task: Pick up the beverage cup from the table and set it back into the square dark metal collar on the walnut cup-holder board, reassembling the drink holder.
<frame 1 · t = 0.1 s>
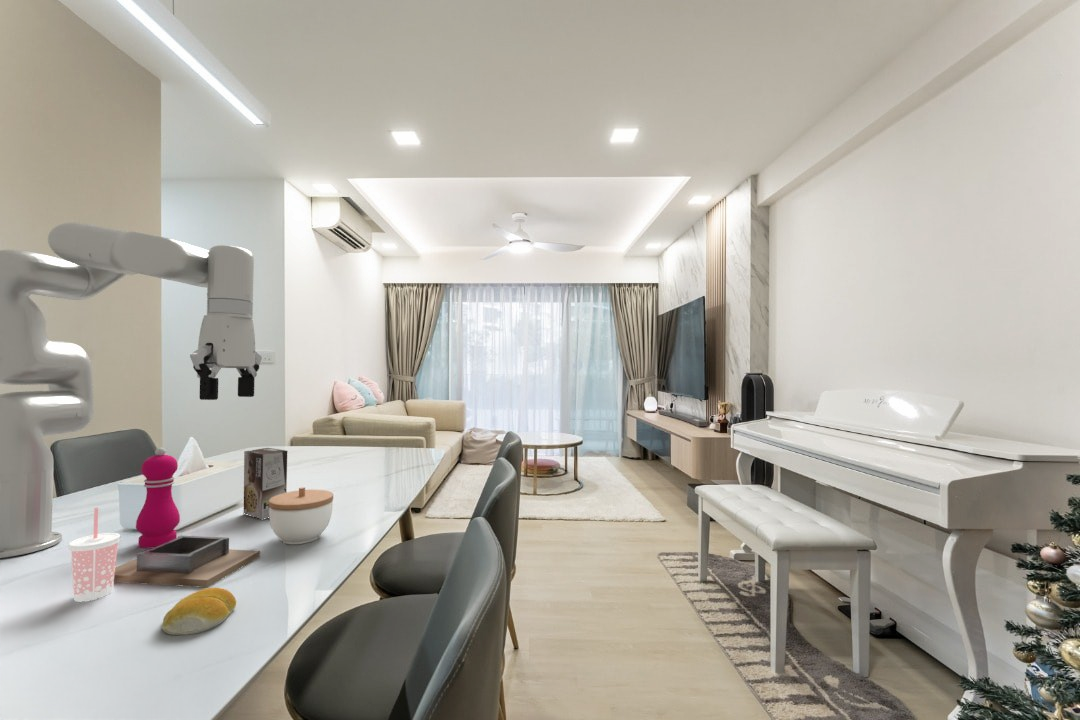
hand: (228, 398, 93), 31 cm above the table, tool pointing down, fingers open, 9 cm apart
bread roll: (200, 622, 70), on the table
lidded bowl: (301, 539, 103), on the table
cup holder: (184, 568, 87), on the table
coffee box: (264, 515, 120), on the table
beverage cup: (93, 596, 77), on the table
pepper mill: (157, 543, 100), on the table
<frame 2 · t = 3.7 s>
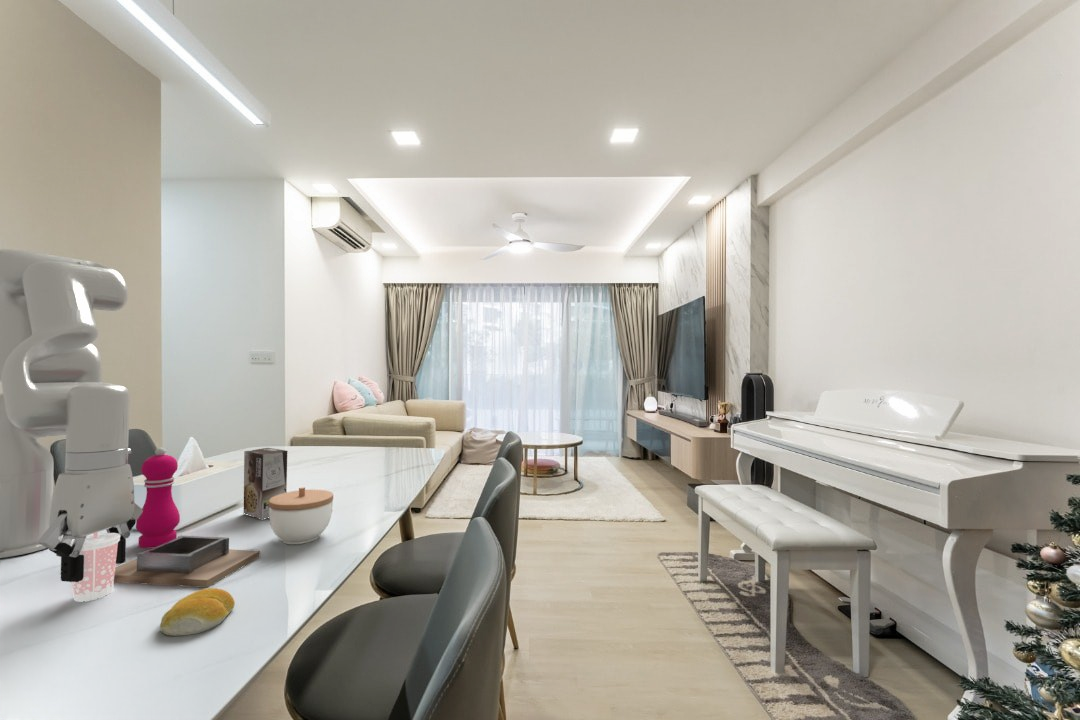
hand: (94, 570, 77), 4 cm above the table, tool pointing down, fingers closed on beverage cup, 6 cm apart
beverage cup: (93, 596, 77), on the table, touching gripper
everything else where it was.
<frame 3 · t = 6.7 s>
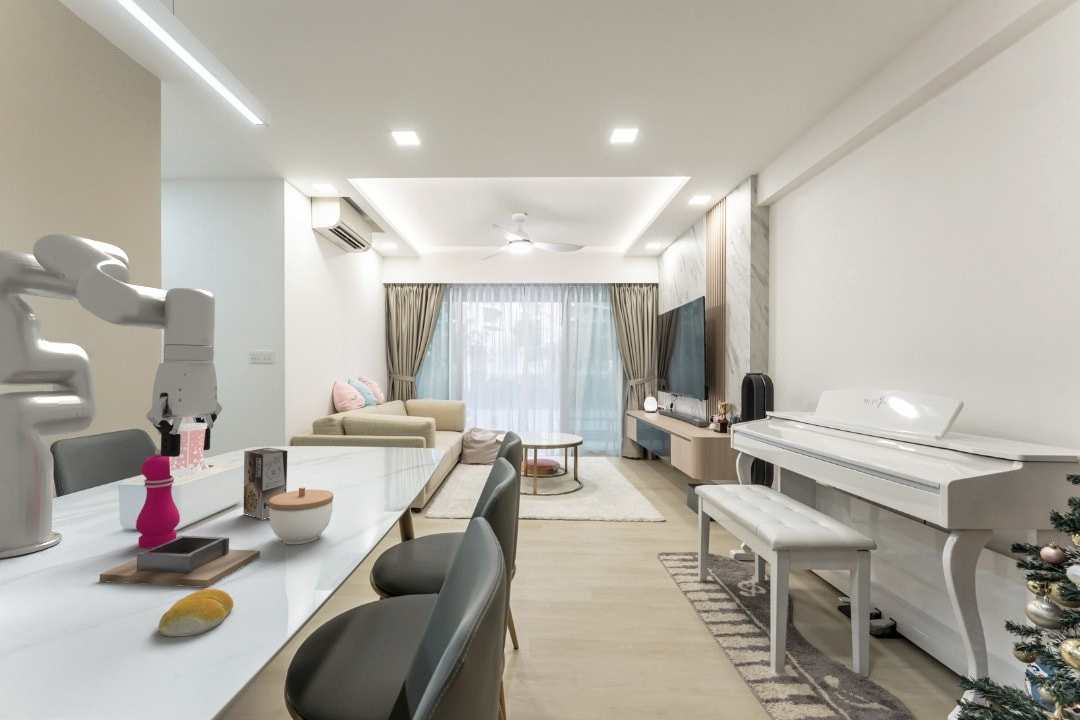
hand: (186, 452, 88), 21 cm above the table, tool pointing down, fingers closed on beverage cup, 6 cm apart
beverage cup: (185, 474, 88), point 17 cm above the table, touching gripper
everything else where it was.
when the fingers open (6 cm above the table, at t = 10.0 s): beverage cup drops 1 cm, resting on cup holder.
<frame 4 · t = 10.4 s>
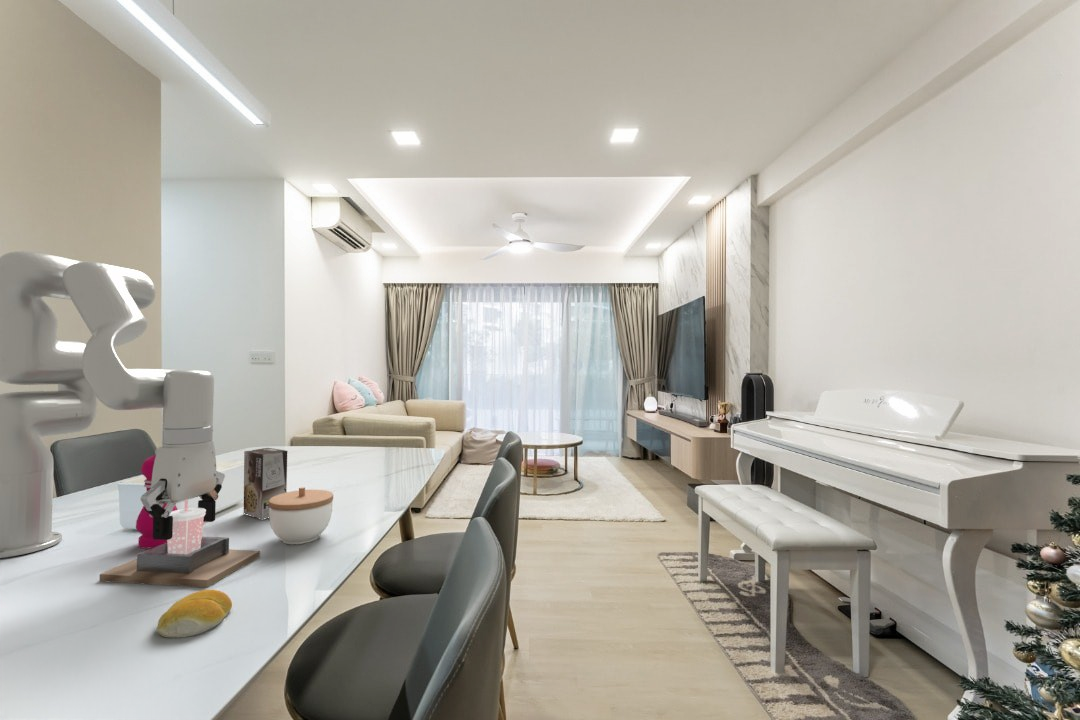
hand: (185, 529, 88), 7 cm above the table, tool pointing down, fingers open, 9 cm apart
beverage cup: (184, 562, 87), point 1 cm above the table, touching cup holder
everything else where it was.
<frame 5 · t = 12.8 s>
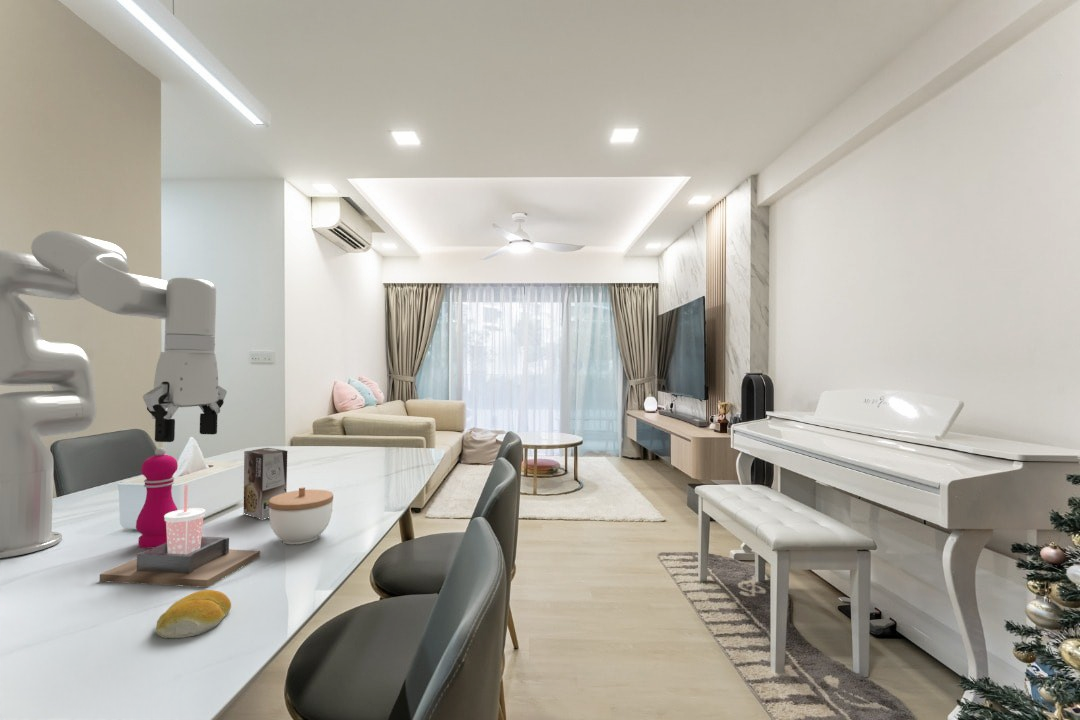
hand: (187, 437, 88), 24 cm above the table, tool pointing down, fingers open, 9 cm apart
nothing on the table moved.
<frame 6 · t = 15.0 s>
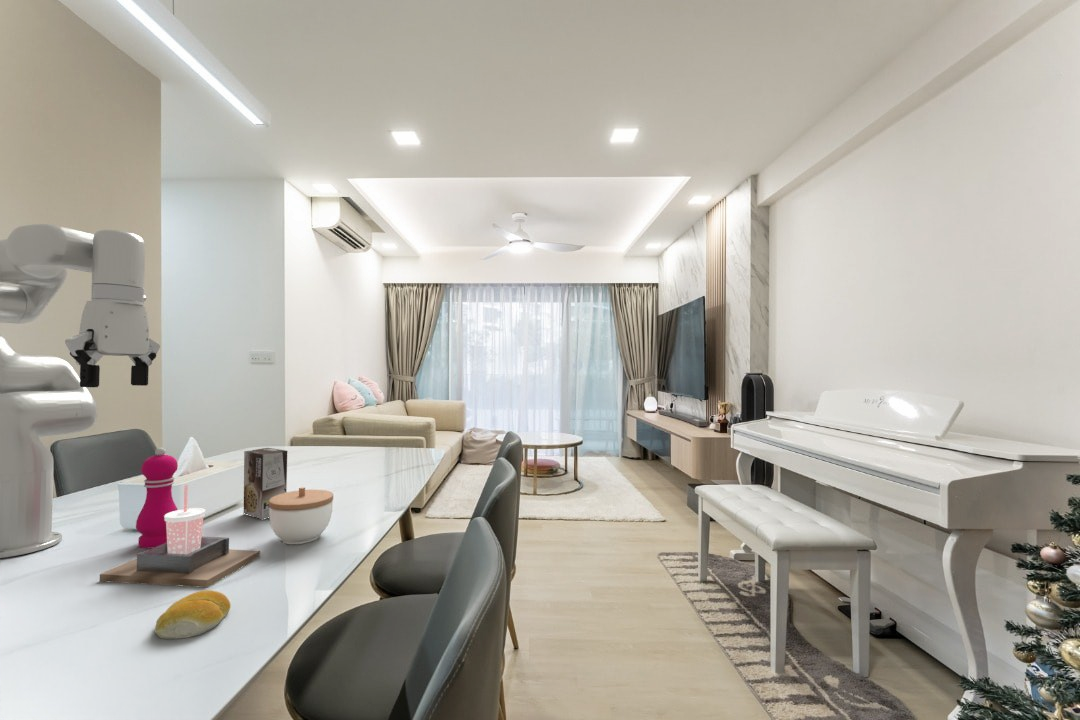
hand: (115, 386, 91), 33 cm above the table, tool pointing down, fingers open, 9 cm apart
nothing on the table moved.
at the end: beverage cup 0.2 cm off-centre on the cup holder, point 1.0 cm above the cup holder's base; beverage cup tilted 0°; the gripper is holding nothing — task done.
